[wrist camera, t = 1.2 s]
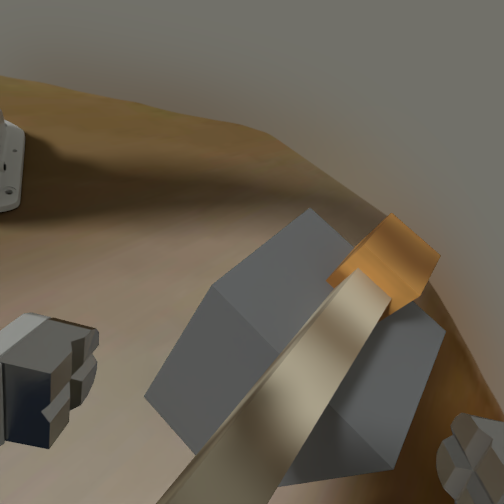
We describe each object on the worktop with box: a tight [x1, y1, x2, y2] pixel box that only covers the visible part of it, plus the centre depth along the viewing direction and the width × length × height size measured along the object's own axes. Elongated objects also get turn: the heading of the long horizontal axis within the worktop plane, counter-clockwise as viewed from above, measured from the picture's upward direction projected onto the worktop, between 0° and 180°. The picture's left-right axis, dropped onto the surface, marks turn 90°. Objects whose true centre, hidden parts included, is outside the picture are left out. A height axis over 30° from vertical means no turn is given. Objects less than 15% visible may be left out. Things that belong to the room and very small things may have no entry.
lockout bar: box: [156, 213, 440, 504], centre depth 19 cm, size 22×4×4 cm, turn 140°
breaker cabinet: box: [144, 208, 446, 487], centre depth 34 cm, size 13×14×26 cm
